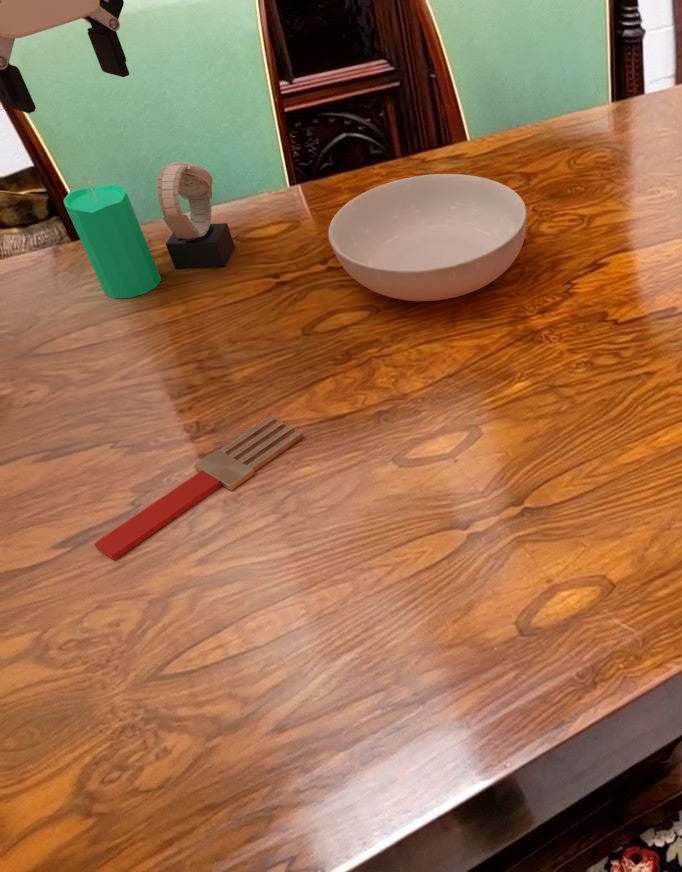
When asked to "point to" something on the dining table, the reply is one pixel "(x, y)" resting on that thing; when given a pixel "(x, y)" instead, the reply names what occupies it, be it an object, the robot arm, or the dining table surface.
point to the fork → (205, 482)
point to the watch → (192, 218)
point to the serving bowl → (429, 235)
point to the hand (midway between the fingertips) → (71, 91)
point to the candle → (113, 240)
